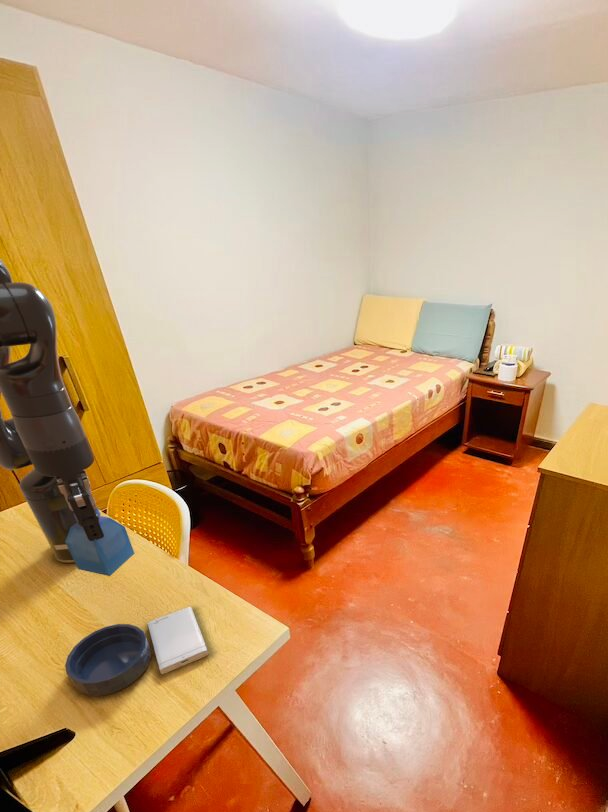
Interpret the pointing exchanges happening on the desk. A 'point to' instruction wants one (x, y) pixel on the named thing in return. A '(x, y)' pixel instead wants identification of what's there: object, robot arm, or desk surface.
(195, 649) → the hard drive
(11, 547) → the desk surface
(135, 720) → the desk surface
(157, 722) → the desk surface
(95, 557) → the perfume bottle
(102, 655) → the bowl
